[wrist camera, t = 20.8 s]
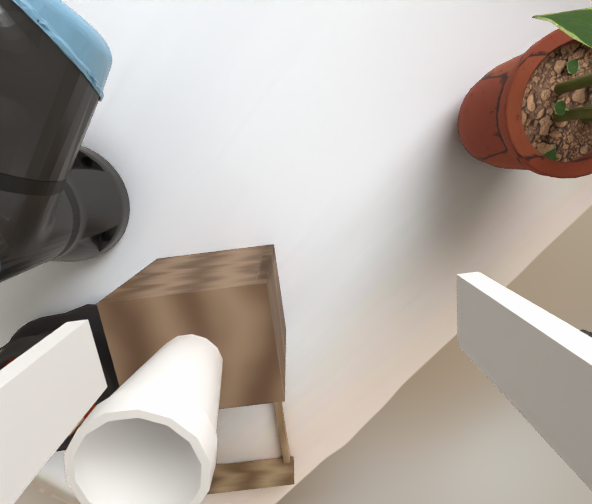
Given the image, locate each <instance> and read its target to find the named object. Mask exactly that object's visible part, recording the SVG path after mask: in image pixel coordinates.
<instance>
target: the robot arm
mask: <svg viewBox="0 0 592 504" xmlns="http://www.w3.org/2000/svg"><path fill="white" fill-rule="evenodd" d="M111 65H112V55H111V52H110V49H109V47H108V45H107V43H106V42H105V40H104V39H103V38H102V36H101V35H100V34H99V33H98V32H97V31H96V30H95V29H94V28H93V27H92V26H91V25H90V24H89V23H87V22H86V21H85V20H84V19H83V18H82V17H81V16H79V15H78V14H77V13H76V12H75V11H73V10H72V9H71V8H70V7H69V6H67V5H66V4H65V3H64V2H62V1H61V0H0V282H2V281H4V280H7V279H9V278H11V277H13V276H16V275H18V274H20V273H23V272H25V271H27V270H29V269H32V268H34V267H36V266H38V265H41V264H43V263H46V262H48V261H64V262H76V261H82V260H87V259H90V258H93V257H95V256H97V255H99V254H101V253H103V252H105V251H107V250H109V249H110V248H111V247H113V246H114V245H115V244H116V243H117V242H118V241H119V239H120V238H121V237H122V235H123V233H124V231H125V229H126V227H127V224H128V220H129V211H130V207H129V198H128V194H127V190H126V188H125V185H124V183H123V181H122V179H121V177H120V176H119V174H118V173H117V171H116V170H115V169H114V168H113V166H112V165H111V164H110V163H109V162H108V161H107V160H105V159H104V158H103V157H102V156H100V155H99V154H97V153H96V152H94V151H92V150H90V149H88V148H85V147H82V146H81V144H82V141H83V139H84V136H85V134H86V131H87V129H88V126H89V124H90V121H91V119H92V116H93V114H94V111H95V109H96V106H97V104H98V101H102V99H103V96H104V95H103V88H104V86H105V83H106V80H107V77H108V74H109V71H110V68H111ZM457 334H458V346H459V347H460V348H461V349H462V350H463V351H464V352H465V353H466V354H467V356H468V357H469V358H470V359H471V360H472V361H473V362H474V363H475V364H476V365H477V367H478V368H479V369H480V370H481V371H482V372H483V373H484V374H485V375H486V376H487V377H488V378H489V380H490V381H491V382H492V383H493V384H494V385H495V386H496V387H497V388H498V389H499V390H500V391H501V393H502V394H503V395H504V396H505V397H506V398H507V399H508V400H509V401H510V402H511V404H512V405H513V406H514V407H515V408H516V409H517V410H518V411H519V412H520V413H521V414H522V415H523V417H524V418H525V419H526V420H527V421H528V422H529V423H530V424H531V425H532V426H533V427H534V429H535V430H536V431H537V432H538V433H539V434H540V435H541V436H542V437H543V438H544V439H545V441H546V442H547V443H548V444H549V445H550V446H551V447H552V448H553V449H554V450H555V451H556V453H557V454H558V455H559V456H560V457H561V458H562V459H563V460H564V461H565V462H566V463H567V465H568V466H569V467H570V468H571V469H572V470H573V471H574V472H575V473H576V474H577V475H578V476H579V478H580V479H581V480H582V481H583V482H584V483H585V484H586V485H587V486H588V487H589V488H590V490H591V491H592V333H591V332H588V331H586V330H578V329H576V328H574V327H572V326H571V325H569V324H567V323H566V322H564V321H562V320H561V319H559V318H557V317H556V316H554V315H552V314H550V313H549V312H547V311H545V310H544V309H542V308H540V307H538V306H537V305H535V304H533V303H531V302H530V301H528V300H526V299H525V298H523V297H521V296H519V295H518V294H516V293H514V292H513V291H511V290H509V289H507V288H506V287H504V286H502V285H501V284H499V283H497V282H495V281H494V280H492V279H490V278H489V277H487V276H485V275H483V274H482V273H480V272H472V273H463V274H457ZM106 388H107V384H106V380H105V377H104V373H103V370H102V366H101V363H100V359H99V356H98V352H97V349H96V345H95V342H94V338H93V335H92V331H91V328H90V324H89V321H88V319H87V320H79V321H71V322H66V323H65V324H63V325H62V326H61V327H59V328H58V329H56V330H55V331H54V332H52V333H51V334H50V335H48V336H47V337H45V338H44V339H43V340H41V341H40V342H38V343H37V344H36V345H34V346H33V347H32V348H30V349H29V350H27V351H26V352H25V353H23V354H22V355H20V356H19V357H18V358H16V359H15V360H14V361H12V362H11V363H9V364H8V365H7V366H5V367H4V368H3V369H1V370H0V504H14V503H15V501H16V500H17V499H18V498H19V496H20V495H21V494H22V492H23V491H24V490H25V489H26V488H27V486H28V485H29V484H30V483H31V481H32V480H33V479H34V478H35V476H36V475H37V474H38V473H39V471H40V470H41V469H42V468H43V466H44V465H45V464H46V463H47V462H48V460H49V459H50V458H51V457H52V455H53V454H54V453H55V452H56V450H57V449H58V448H59V447H60V445H61V444H62V443H63V442H64V440H65V439H66V438H67V437H68V435H69V434H70V433H71V432H72V430H73V429H74V428H75V427H76V425H77V424H78V423H79V422H80V420H81V419H82V418H83V417H84V415H85V414H86V413H87V412H88V411H89V409H90V408H91V407H92V406H93V404H94V403H95V402H96V401H97V399H98V398H99V397H100V396H101V394H102V393H103V392H104V391H105V389H106Z"/></svg>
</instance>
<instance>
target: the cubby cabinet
mask: <svg viewBox="0 0 592 504" xmlns="http://www.w3.org/2000/svg"><path fill="white" fill-rule="evenodd" d="M97 307H98V311H99V314H100V318H101V322H102V325H103V329H104V332H105V336H106V340H107V343H108V347H109V350H110V354H111V358H112V361H113V365H114V368H115V372H116V376H117V379H118V383H119V386H121V385H122V384H124V383H125V382H126V381H127V380H128V379H129V378H130V377H131V376H132V375H133V374H134V373H135V372H136V371H137V370H138V369H139V368H140V367H141V366H143V365H144V364H145V363H146V362H147V361H148V360H149V359H150V358H151V357H152V356H153V355H154V354H155V353H156V352H157V351H158V350H159V349H160V348H161V347H163V346H164V345H165V344H166V343H167V342H169V341H171V340H172V339H174V338H175V337H177V336H181V335H189V334H193V335H197V336H200V337H204V338H206V339H208V340H209V341H210V342H211V343H213V344H214V345H215V346H216V347H217V348H218V350H219V352H220V355H221V357H222V359H223V362H222V378H221V389H220V400H219V409H224V408H232V407H241V406H249V405H258V404H266V403H274V402H283V401H285V354H286V327H285V320H284V313H283V306H282V299H281V292H280V285H279V277H278V270H277V263H276V256H275V249H274V244H273V245H265V246H257V247H248V248H240V249H232V250H224V251H216V252H208V253H200V254H192V255H184V256H176V257H168V258H160V259H156V260H155V261H154V262H152V263H151V264H150V265H148V266H147V267H145V268H144V269H143V270H141V271H140V272H139V273H137V274H136V275H135V276H133V277H132V278H131V279H129V280H128V281H127V282H125V283H124V284H123V285H121V286H120V287H118V288H117V289H116V290H114V291H113V292H112V293H110V294H109V295H108V296H106V297H105V298H104V299H102V300H101V301H100V302H98V303H97Z"/></svg>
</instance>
